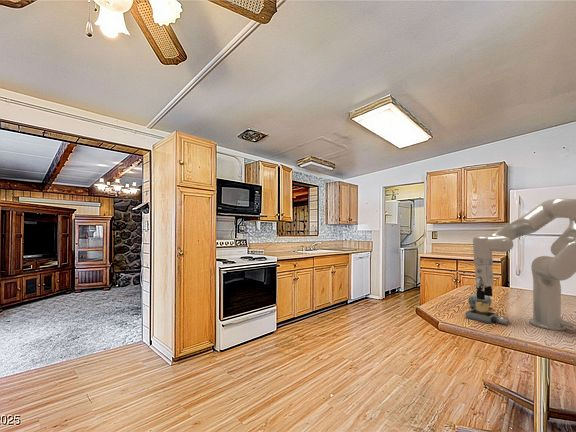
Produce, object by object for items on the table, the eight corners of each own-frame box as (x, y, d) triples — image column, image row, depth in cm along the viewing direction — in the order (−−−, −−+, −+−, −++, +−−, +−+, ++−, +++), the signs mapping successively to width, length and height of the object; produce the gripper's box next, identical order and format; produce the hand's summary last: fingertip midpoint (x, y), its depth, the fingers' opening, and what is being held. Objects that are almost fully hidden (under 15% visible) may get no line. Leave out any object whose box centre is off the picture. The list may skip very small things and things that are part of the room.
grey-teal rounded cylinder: (484, 306, 151) (477, 287, 157) (466, 310, 158) (461, 292, 164) (499, 310, 157) (492, 291, 162) (482, 313, 164) (476, 296, 169)
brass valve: (490, 317, 141) (490, 300, 141) (486, 319, 137) (486, 302, 138) (478, 314, 145) (478, 298, 145) (473, 316, 142) (474, 299, 142)
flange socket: (511, 323, 136) (511, 316, 136) (504, 327, 130) (504, 320, 130) (474, 314, 148) (474, 307, 148) (465, 317, 142) (465, 311, 142)
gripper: (485, 264, 133) (487, 302, 133) (498, 260, 144) (500, 295, 143) (467, 262, 139) (468, 299, 139) (481, 259, 150) (482, 293, 149)
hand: (484, 297), depth 141 cm, fingers open, 9 cm apart
